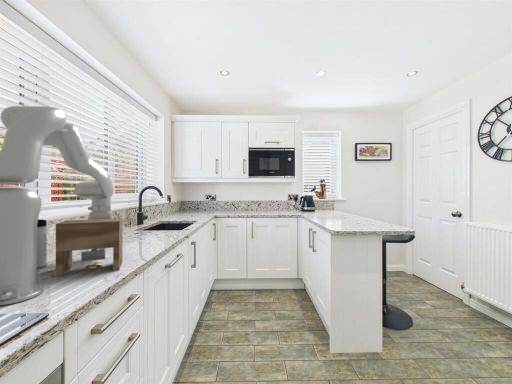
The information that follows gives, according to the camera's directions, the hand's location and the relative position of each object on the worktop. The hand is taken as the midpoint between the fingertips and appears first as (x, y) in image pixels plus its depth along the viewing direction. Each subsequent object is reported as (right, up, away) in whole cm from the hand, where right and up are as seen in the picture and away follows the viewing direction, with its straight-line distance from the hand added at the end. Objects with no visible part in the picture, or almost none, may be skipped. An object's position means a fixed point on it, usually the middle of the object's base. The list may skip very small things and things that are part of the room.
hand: (101, 248), depth 115 cm
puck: (+7, -5, -15) cm, 17 cm away
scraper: (+3, -1, -7) cm, 8 cm away
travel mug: (-16, -4, -17) cm, 23 cm away
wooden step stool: (+8, -4, -18) cm, 20 cm away
